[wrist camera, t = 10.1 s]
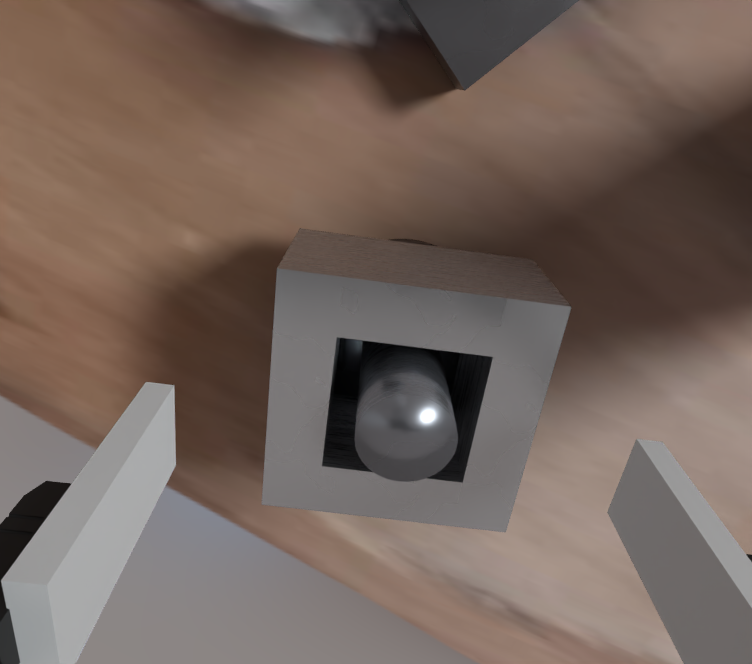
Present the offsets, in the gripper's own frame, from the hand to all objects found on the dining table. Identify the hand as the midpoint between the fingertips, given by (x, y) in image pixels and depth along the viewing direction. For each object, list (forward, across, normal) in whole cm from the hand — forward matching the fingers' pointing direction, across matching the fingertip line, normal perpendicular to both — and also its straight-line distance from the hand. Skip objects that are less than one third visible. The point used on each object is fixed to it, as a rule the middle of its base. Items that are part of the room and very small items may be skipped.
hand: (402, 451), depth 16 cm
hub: (+10, 0, -1) cm, 10 cm away
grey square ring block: (+8, 0, -1) cm, 8 cm away
